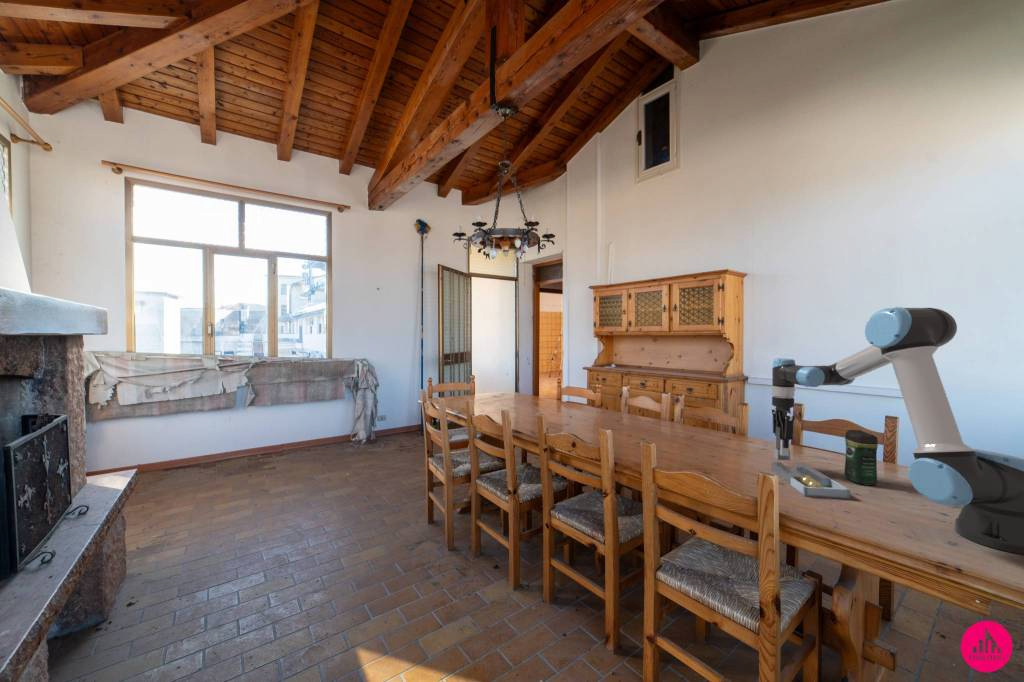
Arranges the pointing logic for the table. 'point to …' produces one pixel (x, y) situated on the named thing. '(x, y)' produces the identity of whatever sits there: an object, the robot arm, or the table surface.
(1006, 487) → the robot arm
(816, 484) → the gold dome knob
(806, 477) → the brass round knob
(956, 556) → the table surface
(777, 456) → the stepped gray block
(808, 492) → the tray
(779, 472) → the slot board
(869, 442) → the coffee jar
